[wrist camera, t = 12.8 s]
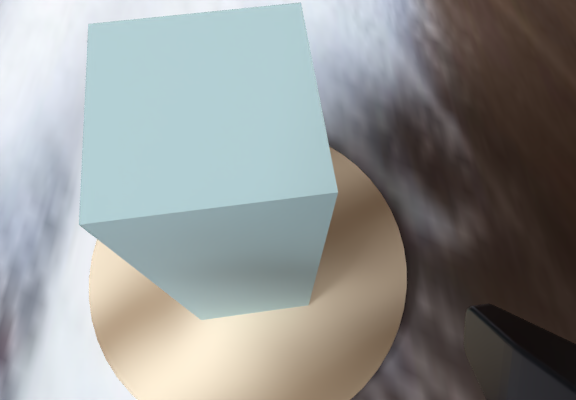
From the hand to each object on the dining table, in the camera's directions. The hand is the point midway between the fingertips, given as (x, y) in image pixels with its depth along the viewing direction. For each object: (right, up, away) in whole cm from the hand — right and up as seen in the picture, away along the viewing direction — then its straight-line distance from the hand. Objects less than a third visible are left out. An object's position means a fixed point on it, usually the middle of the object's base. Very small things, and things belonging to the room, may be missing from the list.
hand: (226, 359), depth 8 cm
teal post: (-1, 0, +12) cm, 12 cm away
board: (-1, 0, +12) cm, 12 cm away
